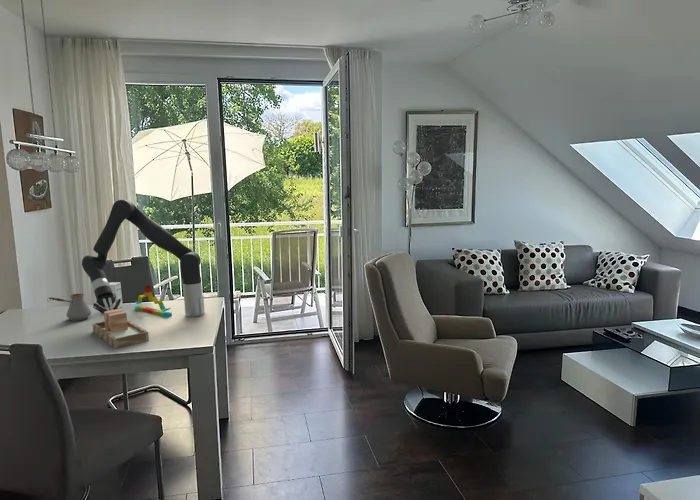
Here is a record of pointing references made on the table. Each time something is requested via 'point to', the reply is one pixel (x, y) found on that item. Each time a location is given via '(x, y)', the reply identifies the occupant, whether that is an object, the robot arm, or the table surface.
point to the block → (115, 320)
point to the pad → (124, 333)
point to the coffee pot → (76, 307)
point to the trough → (122, 341)
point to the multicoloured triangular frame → (151, 298)
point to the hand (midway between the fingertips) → (112, 318)
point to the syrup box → (116, 292)
